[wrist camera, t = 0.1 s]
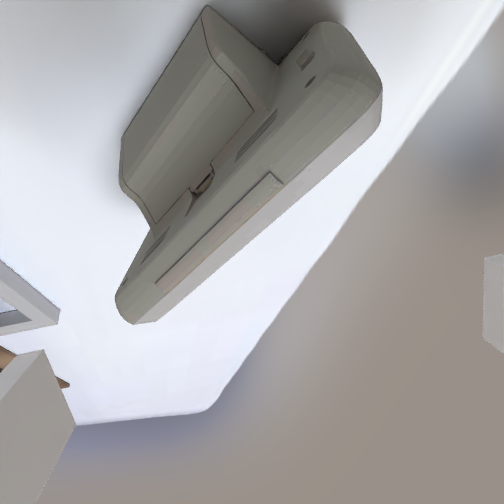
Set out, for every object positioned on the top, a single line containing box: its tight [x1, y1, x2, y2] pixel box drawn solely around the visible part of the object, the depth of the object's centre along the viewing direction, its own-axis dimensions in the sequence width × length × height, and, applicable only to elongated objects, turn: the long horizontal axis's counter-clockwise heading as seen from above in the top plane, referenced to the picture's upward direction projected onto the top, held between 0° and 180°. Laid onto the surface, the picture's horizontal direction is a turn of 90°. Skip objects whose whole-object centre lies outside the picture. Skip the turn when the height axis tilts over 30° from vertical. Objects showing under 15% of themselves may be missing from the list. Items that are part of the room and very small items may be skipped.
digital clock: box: [115, 6, 383, 325], centre depth 18 cm, size 16×9×11 cm, turn 127°
